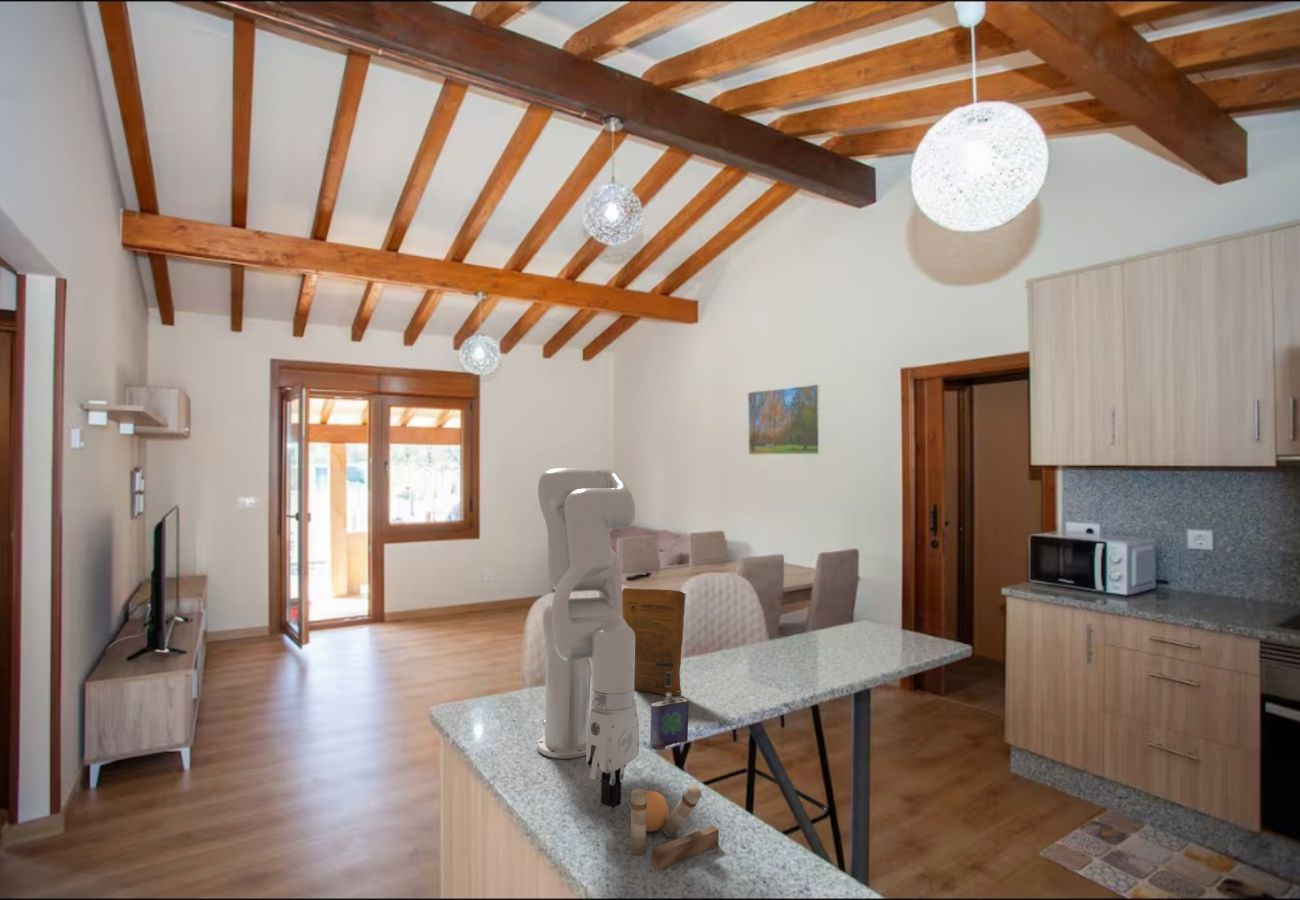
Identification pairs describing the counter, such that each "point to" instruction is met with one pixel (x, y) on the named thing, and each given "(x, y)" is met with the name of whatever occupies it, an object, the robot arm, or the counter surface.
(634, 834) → the pin side
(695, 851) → the back rail
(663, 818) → the ball
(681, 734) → the flask
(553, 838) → the counter surface
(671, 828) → the pin
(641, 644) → the pancake mix bag
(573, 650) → the robot arm
